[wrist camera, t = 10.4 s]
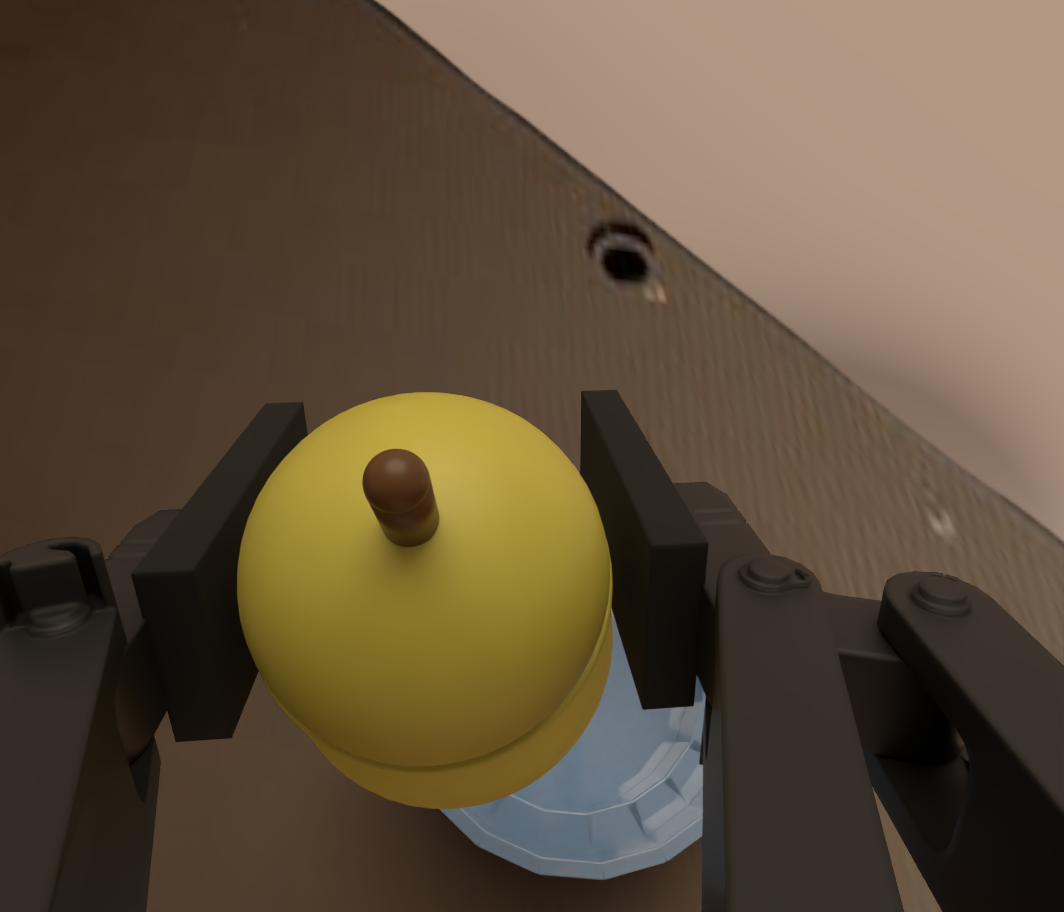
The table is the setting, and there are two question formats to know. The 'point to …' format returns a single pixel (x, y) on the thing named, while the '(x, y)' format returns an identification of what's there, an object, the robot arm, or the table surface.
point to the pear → (430, 598)
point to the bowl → (605, 792)
